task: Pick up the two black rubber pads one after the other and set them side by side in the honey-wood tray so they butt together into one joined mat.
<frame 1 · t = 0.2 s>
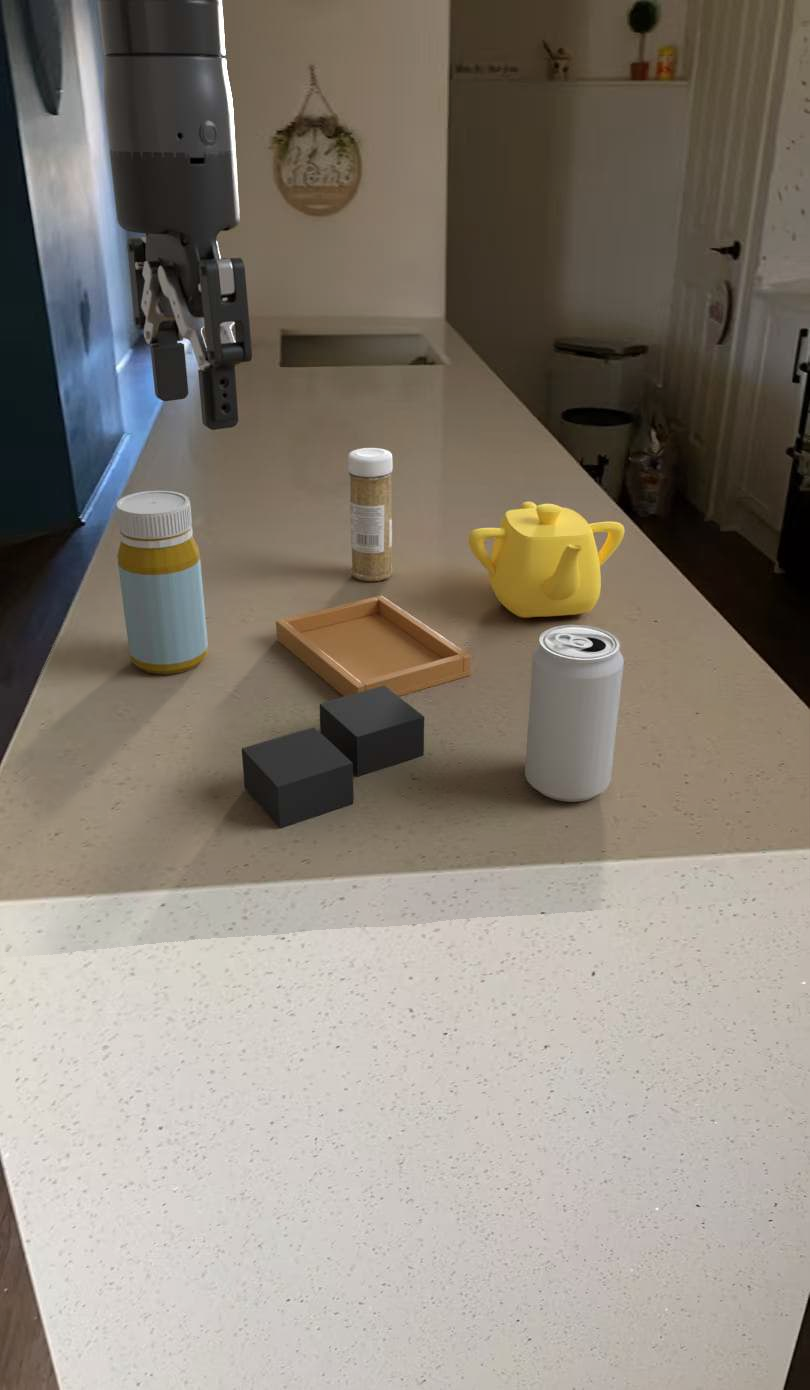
hand: (195, 412, 74), 27 cm above the counter, tool pointing down, fingers open, 8 cm apart
tray: (370, 656, 101), on the counter
pad a: (298, 795, 80), on the counter
sprinkles bottle: (371, 576, 118), on the counter
beverage can: (566, 785, 82), on the counter
teapot: (543, 607, 111), on the counter
bottle: (170, 661, 100), on the counter
pad b: (371, 748, 86), on the counter
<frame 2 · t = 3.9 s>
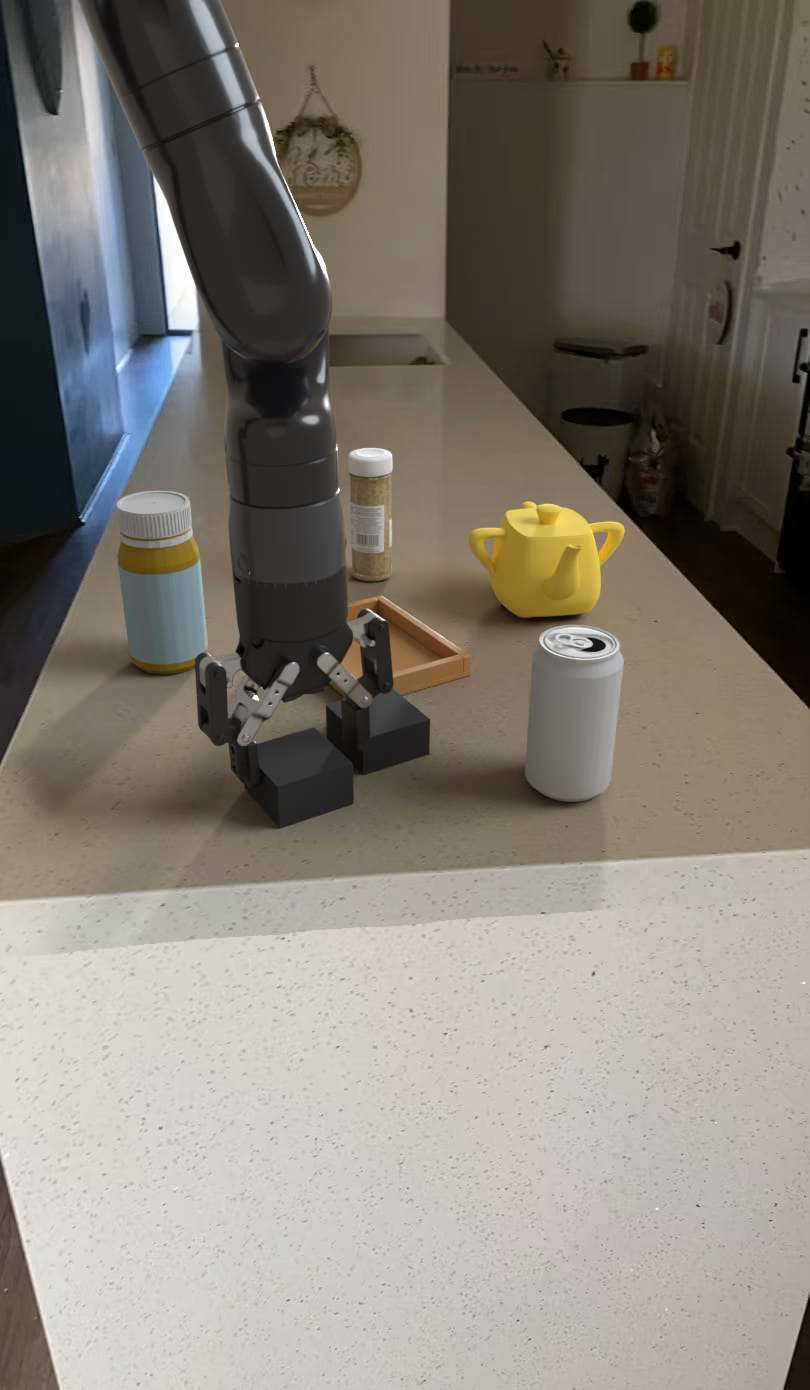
hand: (303, 764, 80), 3 cm above the counter, tool pointing down, fingers open, 8 cm apart
pad b: (377, 749, 87), on the counter, touching gripper
everything else where it was.
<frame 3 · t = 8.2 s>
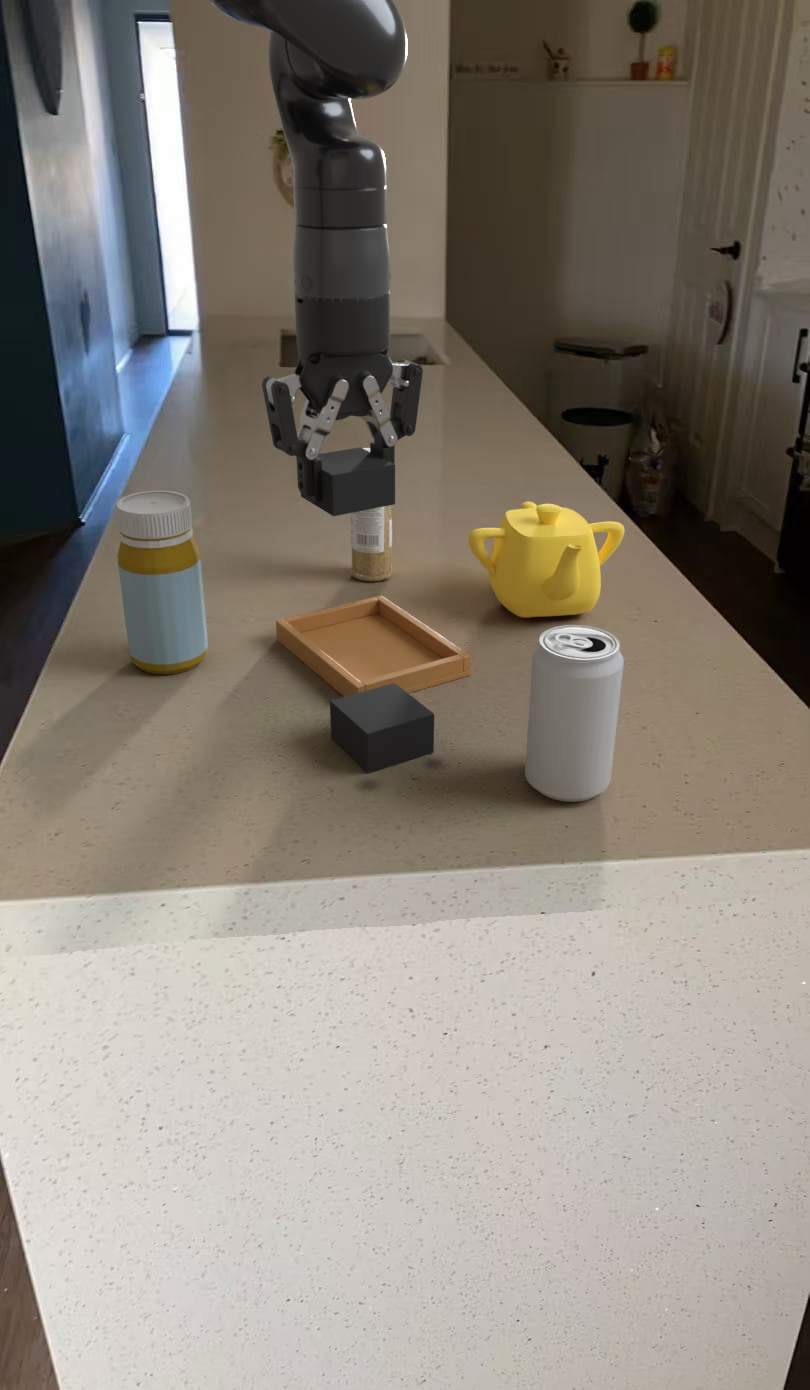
hand: (347, 492, 94), 16 cm above the counter, tool pointing down, fingers closed on pad a, 6 cm apart
pad a: (347, 500, 94), point 15 cm above the counter, touching gripper
pad b: (381, 745, 87), on the counter
everything else where it was.
when the fingers open (1 cm above the counter, at t = 12.0 s): pad a stays where it is, resting on tray.
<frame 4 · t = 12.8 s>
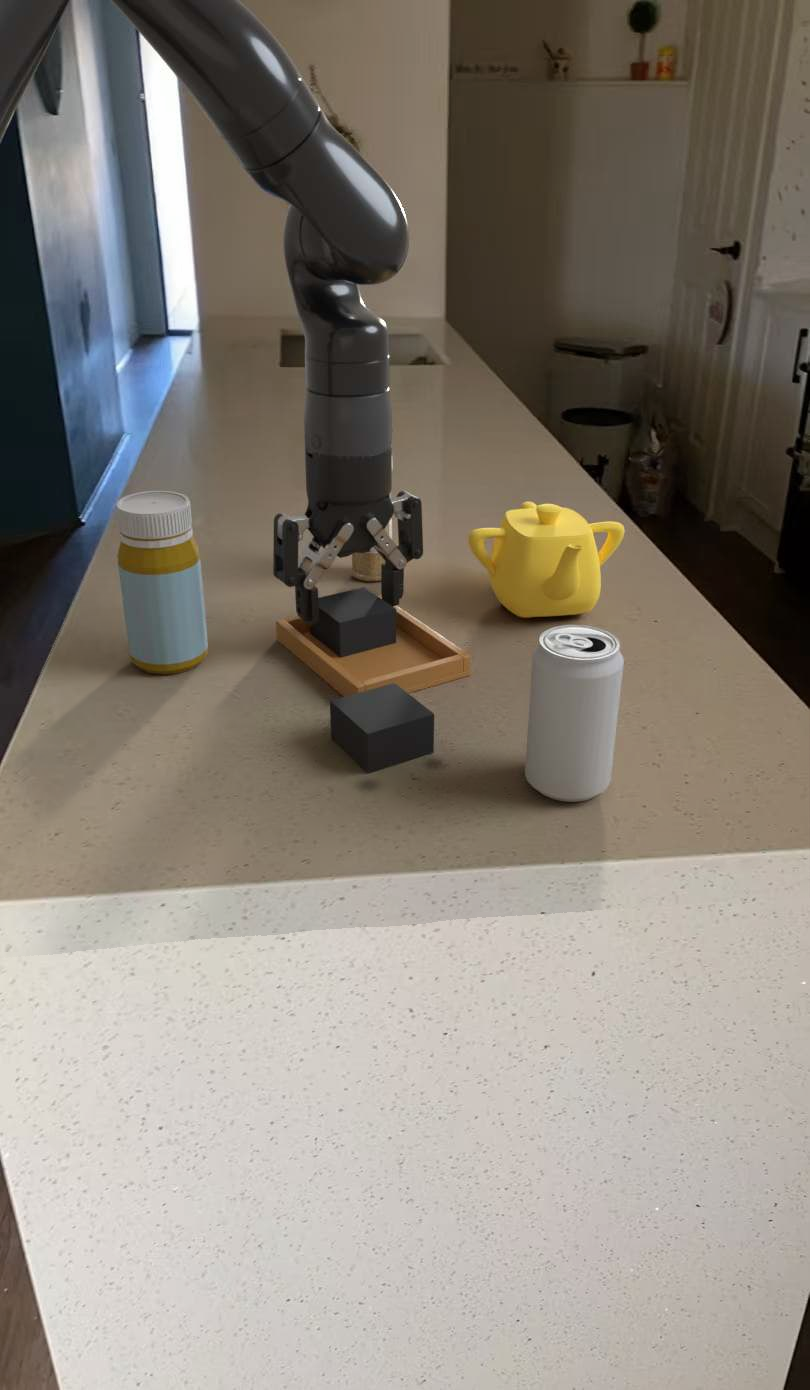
hand: (350, 613, 101), 3 cm above the counter, tool pointing down, fingers open, 8 cm apart
pad a: (352, 638, 103), resting on tray
everything else where it was.
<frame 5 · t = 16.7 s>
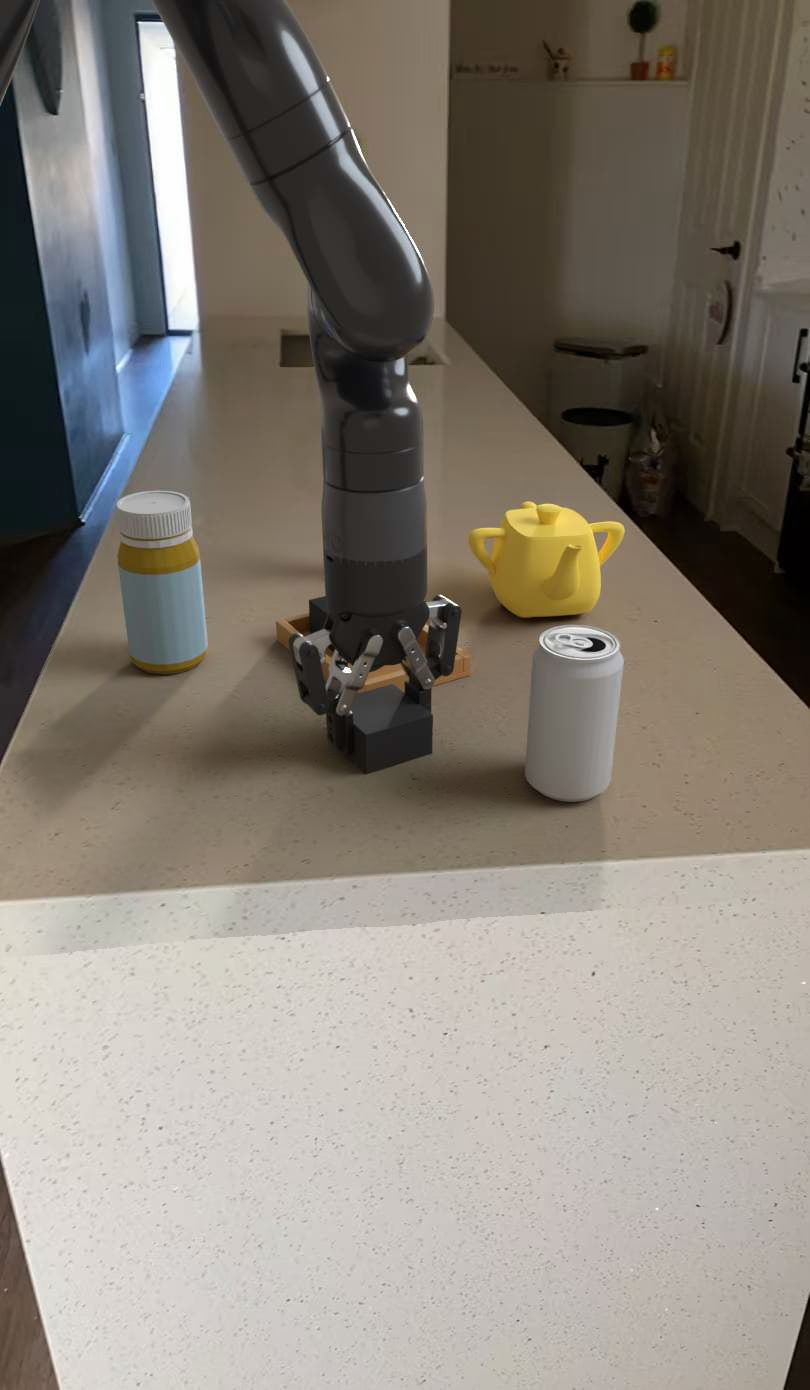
hand: (380, 737, 86), 1 cm above the counter, tool pointing down, fingers closed on pad b, 6 cm apart
pad b: (380, 746, 87), on the counter, touching gripper
everything else where it was.
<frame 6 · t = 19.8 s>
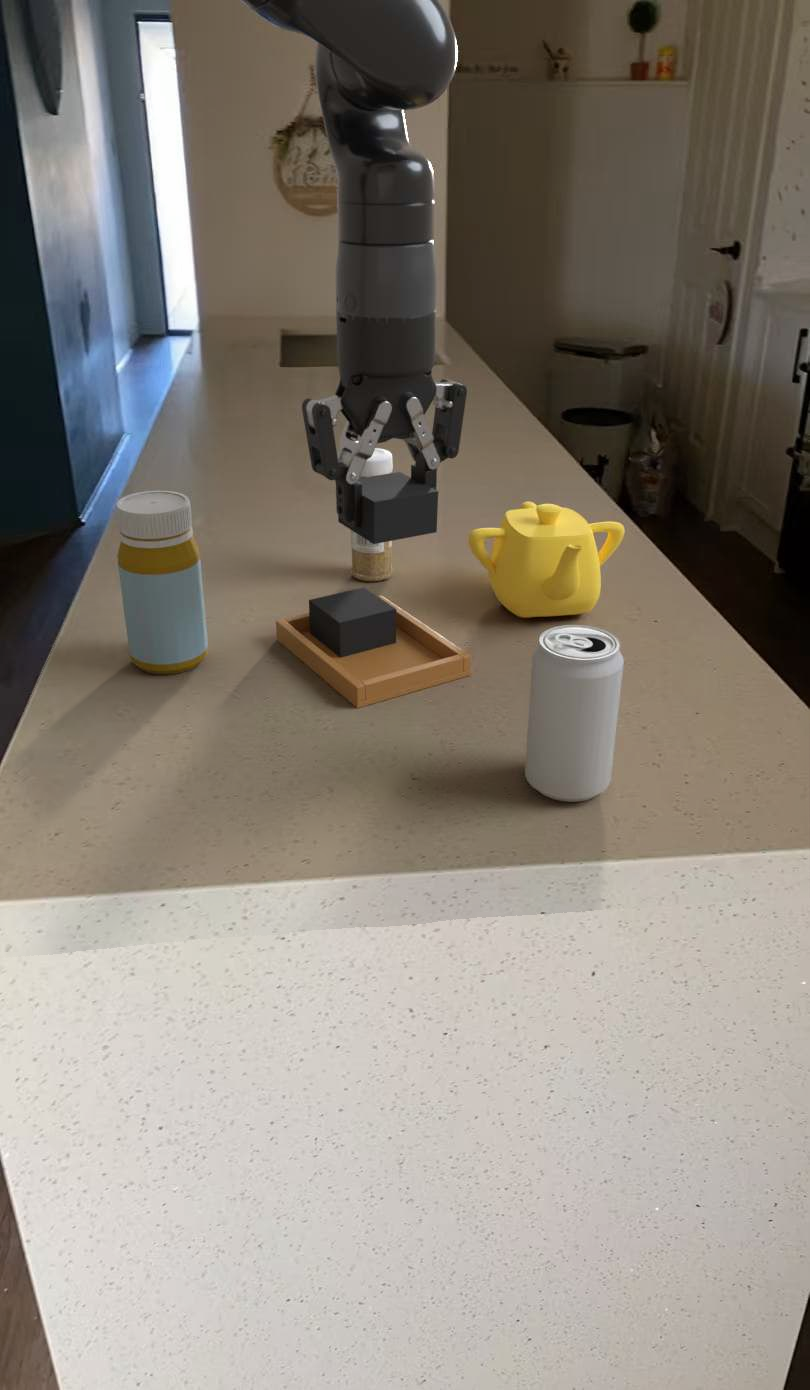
hand: (387, 517, 90), 15 cm above the counter, tool pointing down, fingers closed on pad b, 6 cm apart
pad b: (387, 527, 90), point 14 cm above the counter, touching gripper
everything else where it was.
when the fingers open (1 cm above the counter, at t = 23.3 s): pad b stays where it is, resting on tray.
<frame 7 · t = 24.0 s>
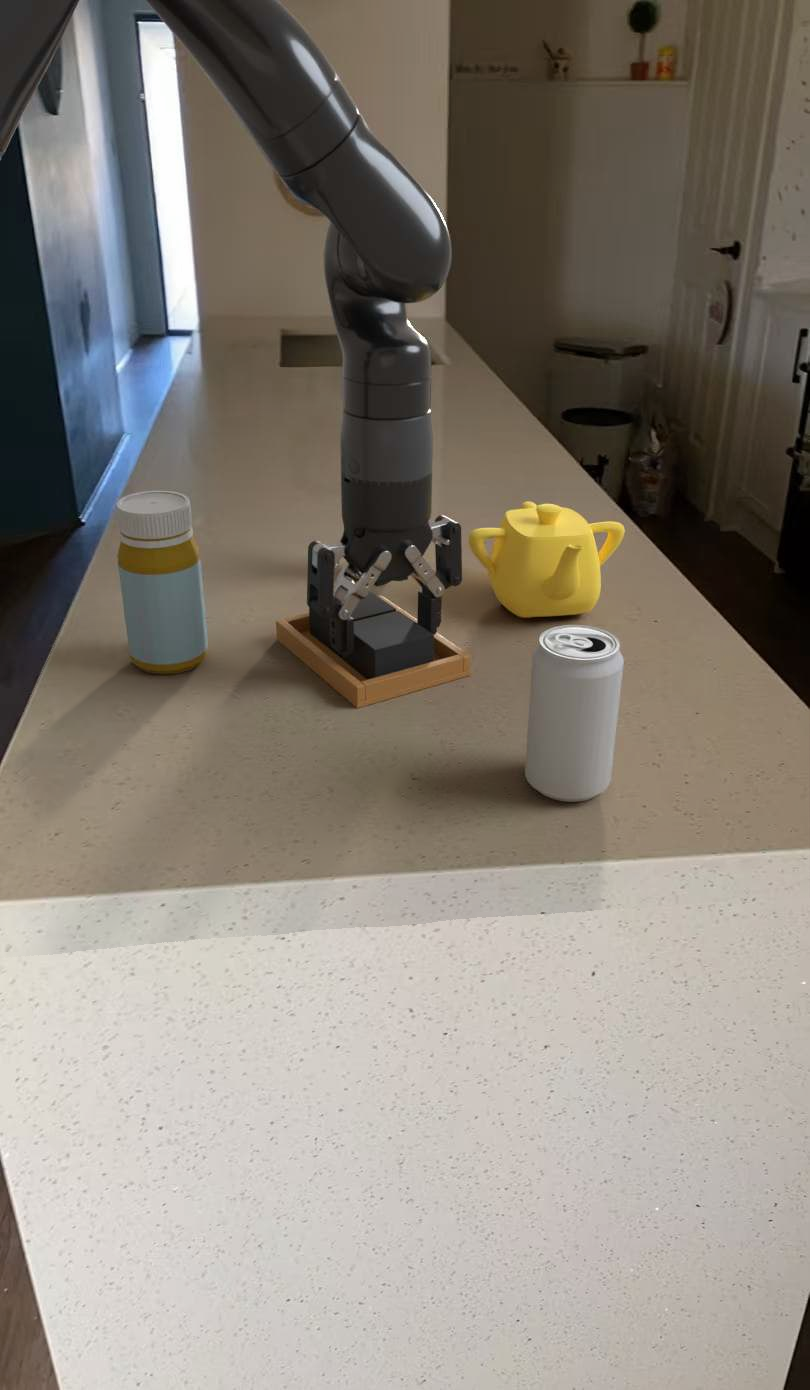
hand: (386, 642, 97), 3 cm above the counter, tool pointing down, fingers open, 8 cm apart
pad b: (387, 664, 98), resting on tray
everything else where it was.
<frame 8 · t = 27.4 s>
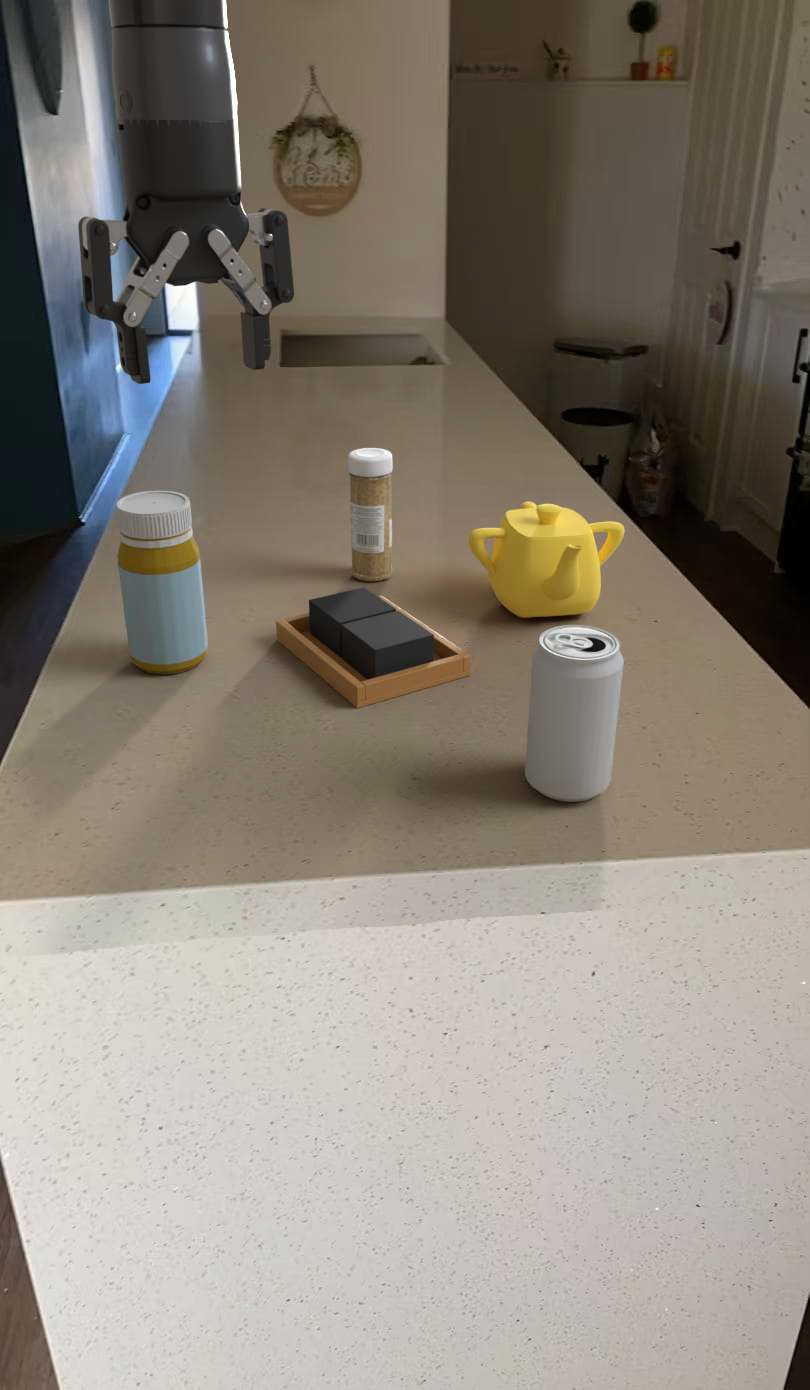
hand: (198, 374, 77), 28 cm above the counter, tool pointing down, fingers open, 8 cm apart
nothing on the counter moved.
at the end: pad a inside the target area in the tray (3.4 cm from its centre), point 0.5 cm above the tray's base; pad b inside the target area in the tray (3.0 cm from its centre), point 0.5 cm above the tray's base; pad b 6.4 cm from the pad a (horizontally) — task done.
